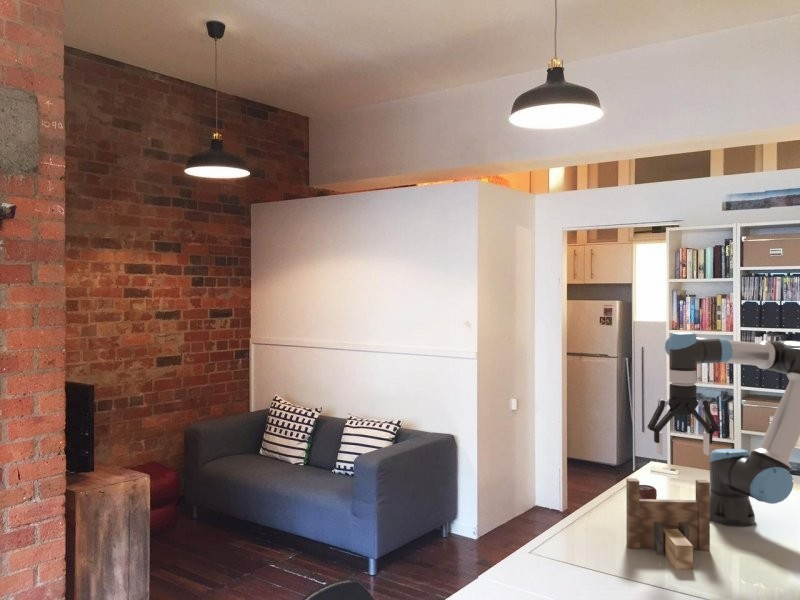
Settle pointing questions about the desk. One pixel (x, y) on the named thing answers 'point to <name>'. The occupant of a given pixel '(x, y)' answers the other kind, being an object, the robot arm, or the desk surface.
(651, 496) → the can
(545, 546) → the desk surface
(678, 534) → the tan rectangular block
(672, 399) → the robot arm
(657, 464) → the desk surface
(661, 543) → the wooden u-shaped stand
